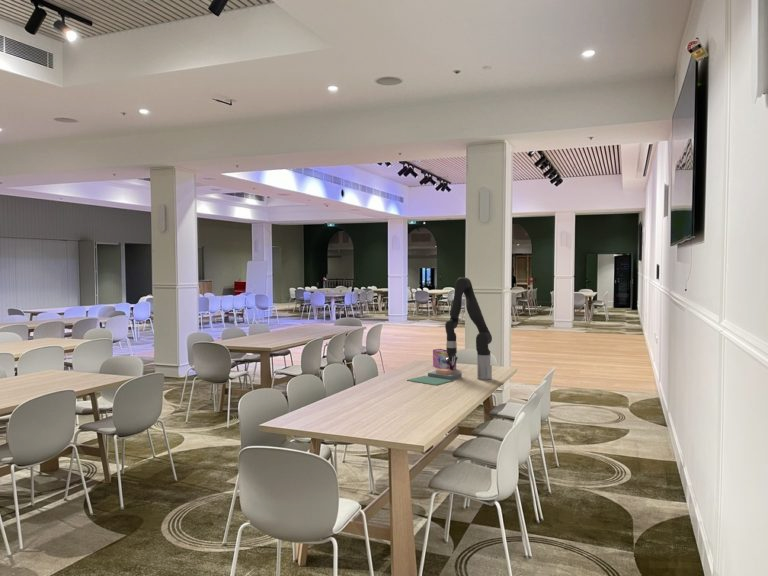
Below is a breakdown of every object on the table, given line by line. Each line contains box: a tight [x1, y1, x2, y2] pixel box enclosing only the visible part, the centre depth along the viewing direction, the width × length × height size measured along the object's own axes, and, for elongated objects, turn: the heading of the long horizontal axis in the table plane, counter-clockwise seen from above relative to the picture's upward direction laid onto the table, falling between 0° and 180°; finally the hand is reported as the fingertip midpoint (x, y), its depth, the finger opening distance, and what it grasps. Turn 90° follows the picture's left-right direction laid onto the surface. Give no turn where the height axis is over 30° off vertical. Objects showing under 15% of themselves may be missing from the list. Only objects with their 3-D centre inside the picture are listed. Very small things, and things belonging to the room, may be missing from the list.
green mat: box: [406, 375, 455, 386], centre depth 400 cm, size 26×20×1 cm
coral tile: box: [435, 368, 453, 375], centre depth 412 cm, size 9×7×2 cm
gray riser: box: [427, 370, 463, 380], centre depth 413 cm, size 20×14×3 cm
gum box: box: [432, 348, 457, 371], centre depth 452 cm, size 24×8×14 cm, turn 28°
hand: (451, 370), depth 419 cm, fingers closed
